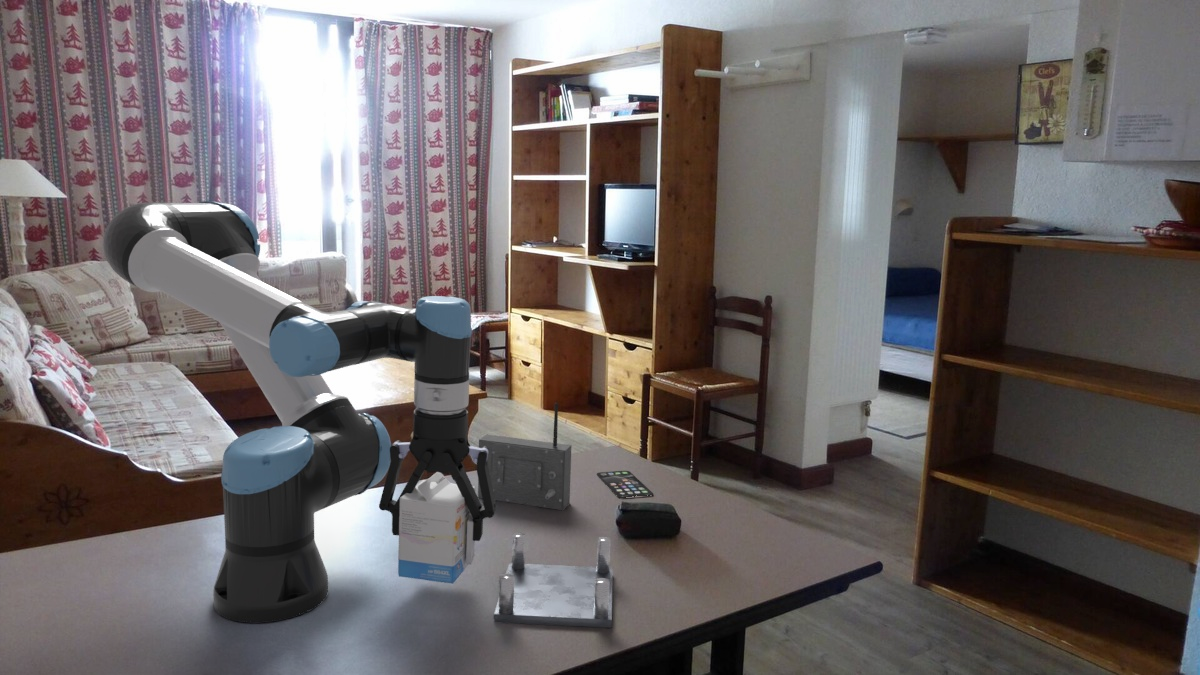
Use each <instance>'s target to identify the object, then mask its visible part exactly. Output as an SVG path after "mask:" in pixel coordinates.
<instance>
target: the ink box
mask: <svg viewBox="0 0 1200 675" xmlns="http://www.w3.org/2000/svg"><path fill="white" fill-rule="evenodd" d="M472 486H473V488H474V490H475V491H476V486H475V485H472ZM399 497H400V496H399ZM470 515H471V513H470V511H469V509H468V507H467V505H466V503H465V501H464V497H462V495H461V492H460V490H459V488H458V486H457V484H456V483H453V482H450V481H449V480H448V479H447V477H445V475H444V474H443V473H440V472H435V473H433V475H431V476H430V477H429V478H427V479H422V480H420V482H418V483H417V485H416V487H415V488H414V490H413V491H412V493H405V494H404V495H403V496H402V497H400V517H399V535H398V553H399V558H398V561H397V562H398V563H397V564H398V568H397V570H398V572H397V574H398V577H400V578H401V577H402V578H408V579H417V580H423V581H430V582H437V583H445V584H455V582H456V581H457V580H458V578H459V577H460V576H461V575H462V573H463V572H464V571H465V570H466V568H467V567H469V565H470V564H466V549H467V521H468V519H469V517H470Z"/></svg>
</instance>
